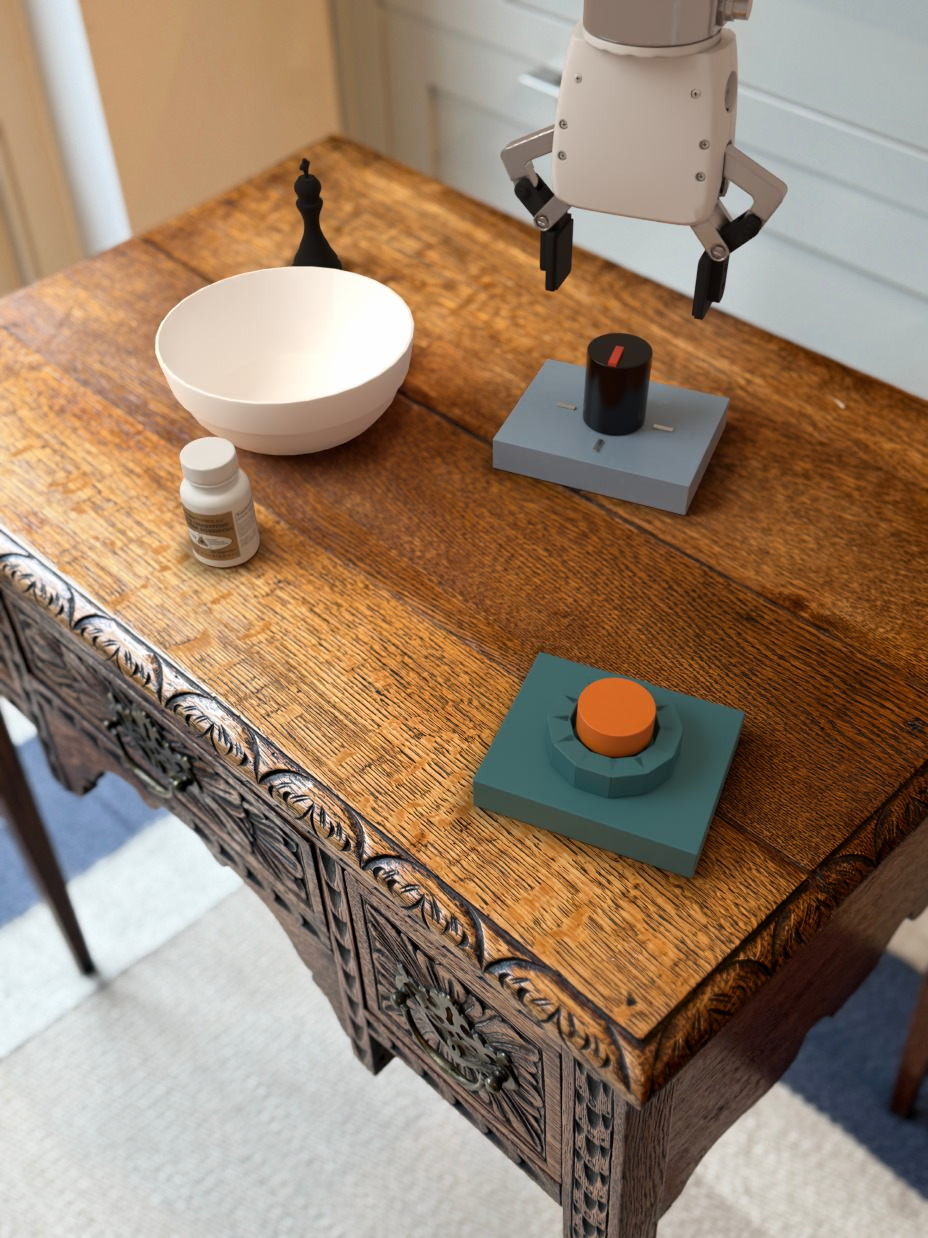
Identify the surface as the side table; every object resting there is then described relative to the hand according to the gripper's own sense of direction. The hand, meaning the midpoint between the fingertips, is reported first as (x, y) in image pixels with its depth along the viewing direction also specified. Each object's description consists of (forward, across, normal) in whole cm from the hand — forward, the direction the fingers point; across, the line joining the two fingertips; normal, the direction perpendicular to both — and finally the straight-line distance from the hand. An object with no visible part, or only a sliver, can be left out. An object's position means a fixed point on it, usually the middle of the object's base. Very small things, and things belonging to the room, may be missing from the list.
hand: (629, 295), depth 75 cm
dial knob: (+10, +1, -1) cm, 10 cm away
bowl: (+13, +24, +4) cm, 27 cm away
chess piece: (+12, +33, -16) cm, 38 cm away
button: (+10, -8, +27) cm, 30 cm away
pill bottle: (+13, +21, +19) cm, 31 cm away
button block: (+13, -8, +27) cm, 31 cm away
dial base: (+13, +1, -1) cm, 13 cm away
